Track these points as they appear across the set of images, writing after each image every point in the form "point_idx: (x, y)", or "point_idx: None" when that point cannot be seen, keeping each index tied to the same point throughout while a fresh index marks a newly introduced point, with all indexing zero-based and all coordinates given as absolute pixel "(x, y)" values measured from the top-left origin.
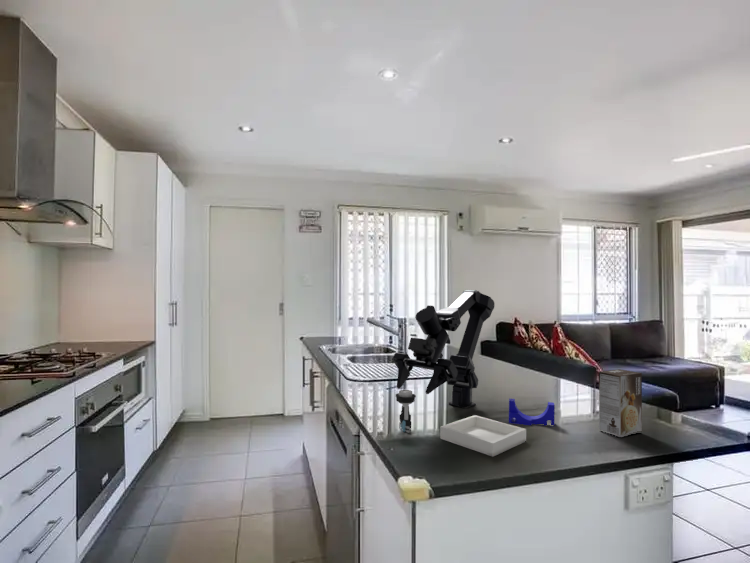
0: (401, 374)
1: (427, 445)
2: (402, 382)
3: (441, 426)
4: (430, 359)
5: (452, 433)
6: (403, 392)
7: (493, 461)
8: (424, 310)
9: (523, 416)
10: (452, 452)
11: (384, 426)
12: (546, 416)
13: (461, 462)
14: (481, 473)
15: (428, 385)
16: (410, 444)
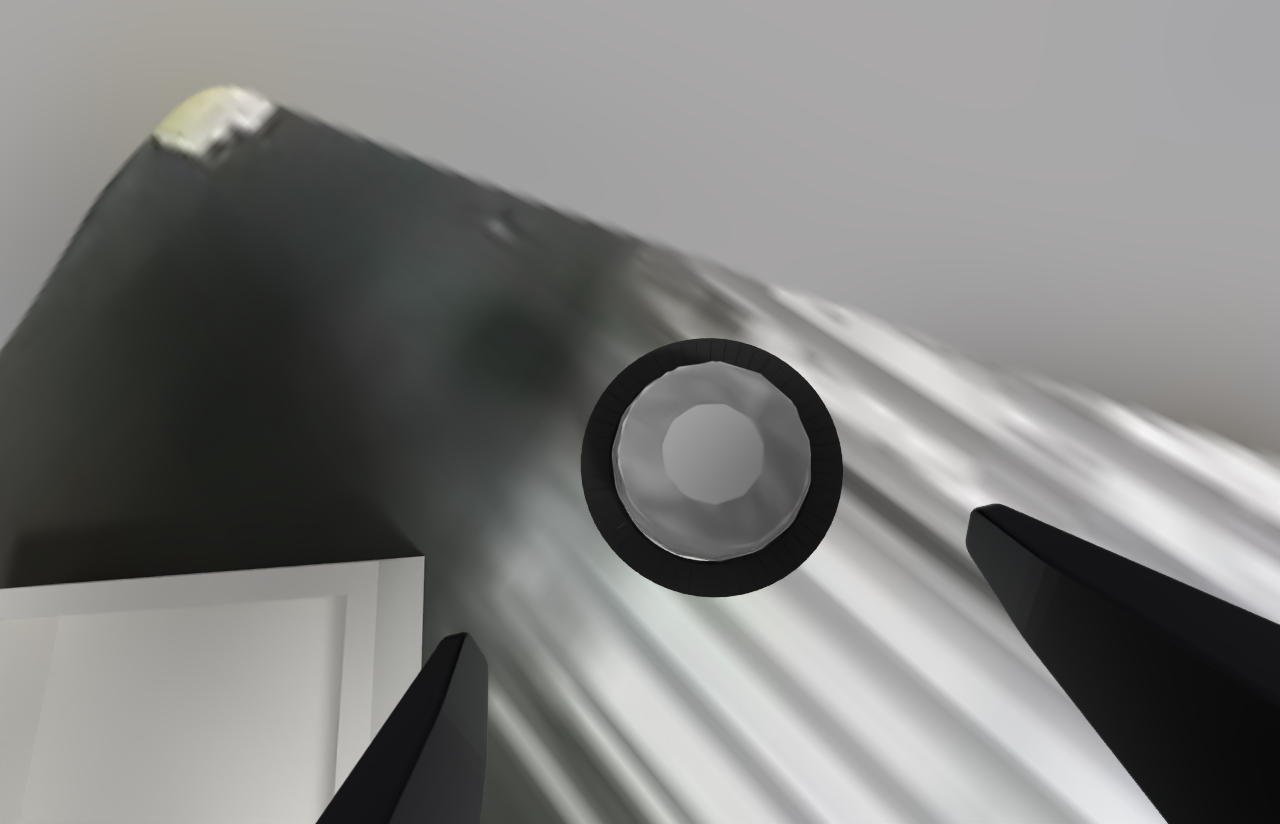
0: (1261, 692)
1: (407, 409)
2: (1076, 667)
3: (373, 568)
4: None
5: (286, 567)
6: (684, 389)
7: (40, 532)
8: None
9: None
10: (254, 447)
11: None
12: None
13: (159, 388)
14: (39, 370)
15: (407, 736)
16: (479, 342)
